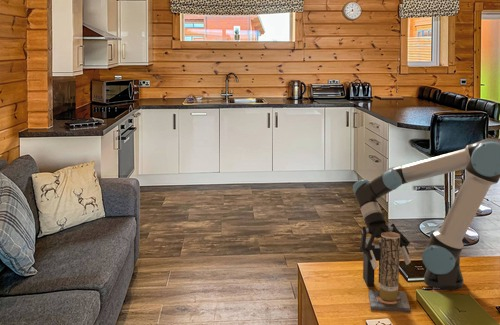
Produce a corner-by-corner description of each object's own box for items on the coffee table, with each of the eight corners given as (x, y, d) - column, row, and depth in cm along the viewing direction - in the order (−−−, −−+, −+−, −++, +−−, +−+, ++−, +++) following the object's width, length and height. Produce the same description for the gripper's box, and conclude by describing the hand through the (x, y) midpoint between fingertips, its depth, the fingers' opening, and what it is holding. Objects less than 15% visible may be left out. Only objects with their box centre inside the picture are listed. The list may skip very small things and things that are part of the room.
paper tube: (398, 302, 183) (401, 237, 179) (379, 301, 184) (381, 236, 180) (397, 294, 189) (399, 232, 186) (378, 293, 191) (380, 231, 187)
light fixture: (401, 286, 200) (402, 245, 197) (367, 287, 201) (367, 245, 198) (395, 277, 210) (396, 237, 207) (362, 277, 211) (363, 237, 208)
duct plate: (405, 295, 192) (405, 291, 192) (409, 312, 179) (410, 307, 179) (368, 293, 195) (368, 289, 195) (370, 309, 181) (370, 305, 181)
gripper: (397, 217, 200) (417, 265, 188) (341, 223, 194) (358, 273, 182) (404, 208, 194) (426, 257, 182) (347, 214, 188) (365, 265, 176)
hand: (392, 265), depth 182 cm, fingers open, 13 cm apart
